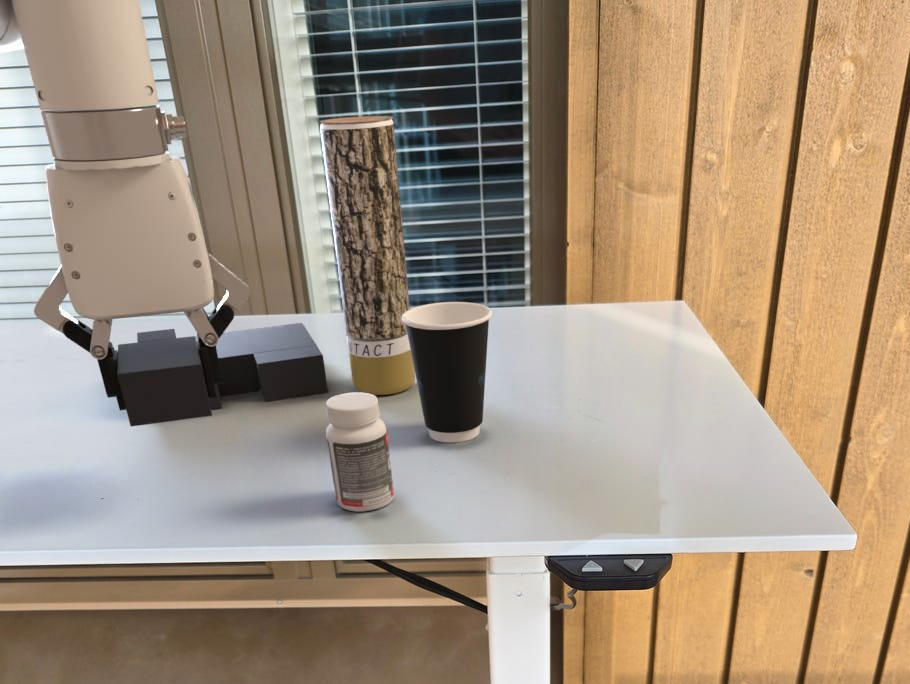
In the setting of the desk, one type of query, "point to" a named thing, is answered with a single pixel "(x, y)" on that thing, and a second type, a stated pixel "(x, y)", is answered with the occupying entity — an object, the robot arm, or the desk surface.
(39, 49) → the robot arm
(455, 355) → the dixie cup
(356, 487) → the pill bottle
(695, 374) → the desk surface
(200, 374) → the dark grey stepped block
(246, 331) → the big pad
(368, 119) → the paper tube
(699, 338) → the desk surface
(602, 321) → the desk surface
